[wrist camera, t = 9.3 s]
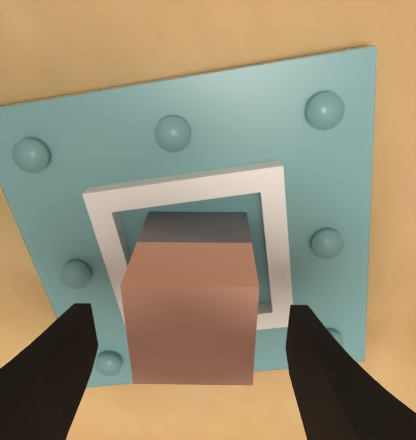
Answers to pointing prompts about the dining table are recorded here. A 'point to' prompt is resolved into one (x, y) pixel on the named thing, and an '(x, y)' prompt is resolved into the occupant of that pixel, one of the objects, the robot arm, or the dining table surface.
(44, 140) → the baseplate
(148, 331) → the brick stack
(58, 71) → the dining table surface
